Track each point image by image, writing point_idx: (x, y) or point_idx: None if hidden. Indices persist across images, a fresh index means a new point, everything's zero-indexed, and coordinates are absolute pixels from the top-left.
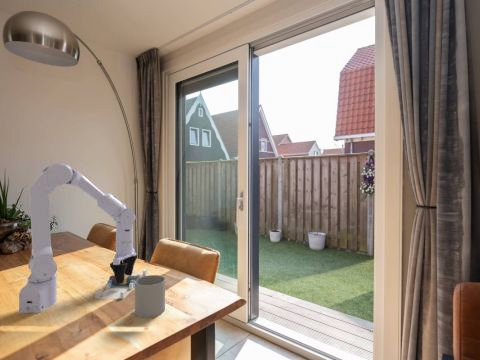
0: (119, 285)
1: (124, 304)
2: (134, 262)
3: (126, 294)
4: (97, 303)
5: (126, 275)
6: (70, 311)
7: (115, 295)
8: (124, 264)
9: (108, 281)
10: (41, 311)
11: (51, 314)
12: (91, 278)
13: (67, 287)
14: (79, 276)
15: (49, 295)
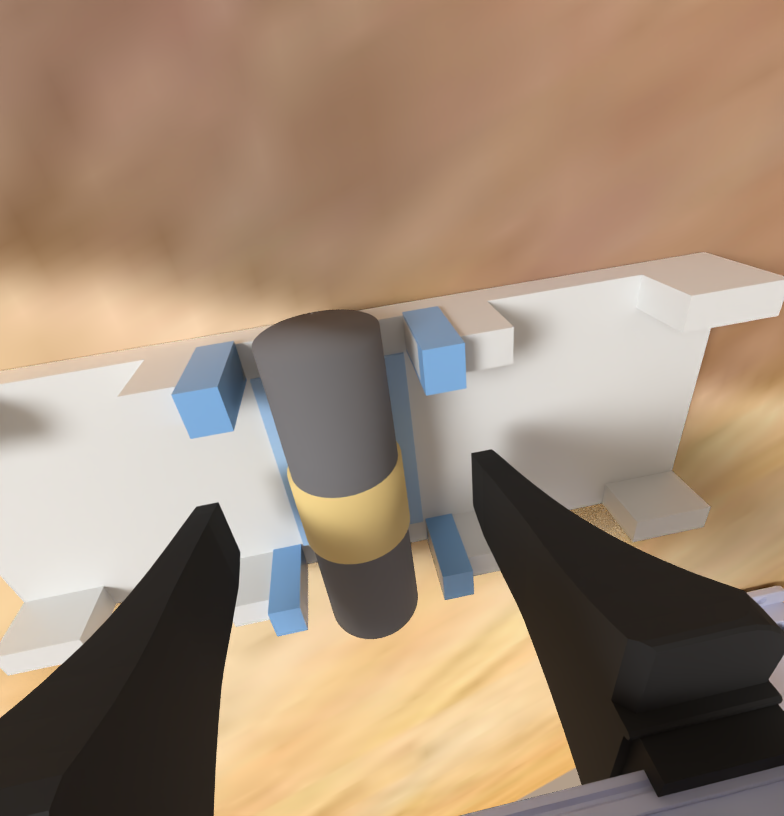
0: None
1: (761, 209)
2: (92, 658)
3: (660, 277)
4: (679, 444)
5: (350, 516)
6: (763, 512)
7: (624, 385)
8: (744, 652)
9: (472, 580)
10: (780, 610)
11: (770, 564)
12: (228, 725)
13: (408, 720)
14: (222, 780)
15: (782, 684)
